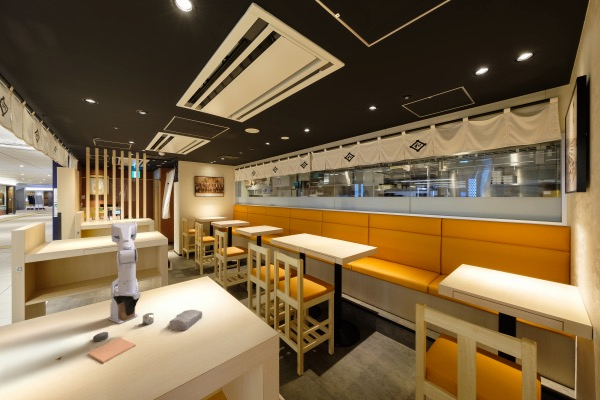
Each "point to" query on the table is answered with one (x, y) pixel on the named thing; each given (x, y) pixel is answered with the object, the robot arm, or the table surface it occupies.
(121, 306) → the walnut block
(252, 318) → the table surface
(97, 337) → the black rubber puck
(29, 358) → the table surface
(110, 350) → the terracotta tile
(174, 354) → the table surface
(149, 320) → the brushed metal tin
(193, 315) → the stone block
